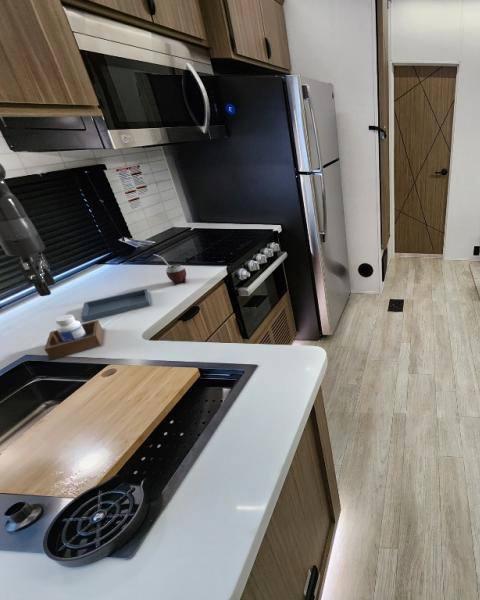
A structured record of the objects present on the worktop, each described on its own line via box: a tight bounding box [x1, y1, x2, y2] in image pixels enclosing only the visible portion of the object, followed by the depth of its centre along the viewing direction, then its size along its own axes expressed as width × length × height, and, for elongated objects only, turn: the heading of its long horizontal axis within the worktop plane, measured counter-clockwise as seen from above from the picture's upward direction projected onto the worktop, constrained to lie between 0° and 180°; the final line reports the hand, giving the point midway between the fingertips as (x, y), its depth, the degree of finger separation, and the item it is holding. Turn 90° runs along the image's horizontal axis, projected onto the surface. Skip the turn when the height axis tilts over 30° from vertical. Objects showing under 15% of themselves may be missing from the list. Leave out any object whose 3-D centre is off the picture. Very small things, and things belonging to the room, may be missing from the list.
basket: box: [44, 319, 104, 361], centre depth 103 cm, size 12×12×4 cm
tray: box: [80, 288, 151, 323], centre depth 125 cm, size 20×14×3 cm
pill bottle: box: [54, 314, 89, 343], centre depth 102 cm, size 6×5×10 cm
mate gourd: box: [152, 253, 187, 286], centre depth 141 cm, size 8×8×15 cm
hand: (48, 289), depth 95 cm, fingers open, 8 cm apart
